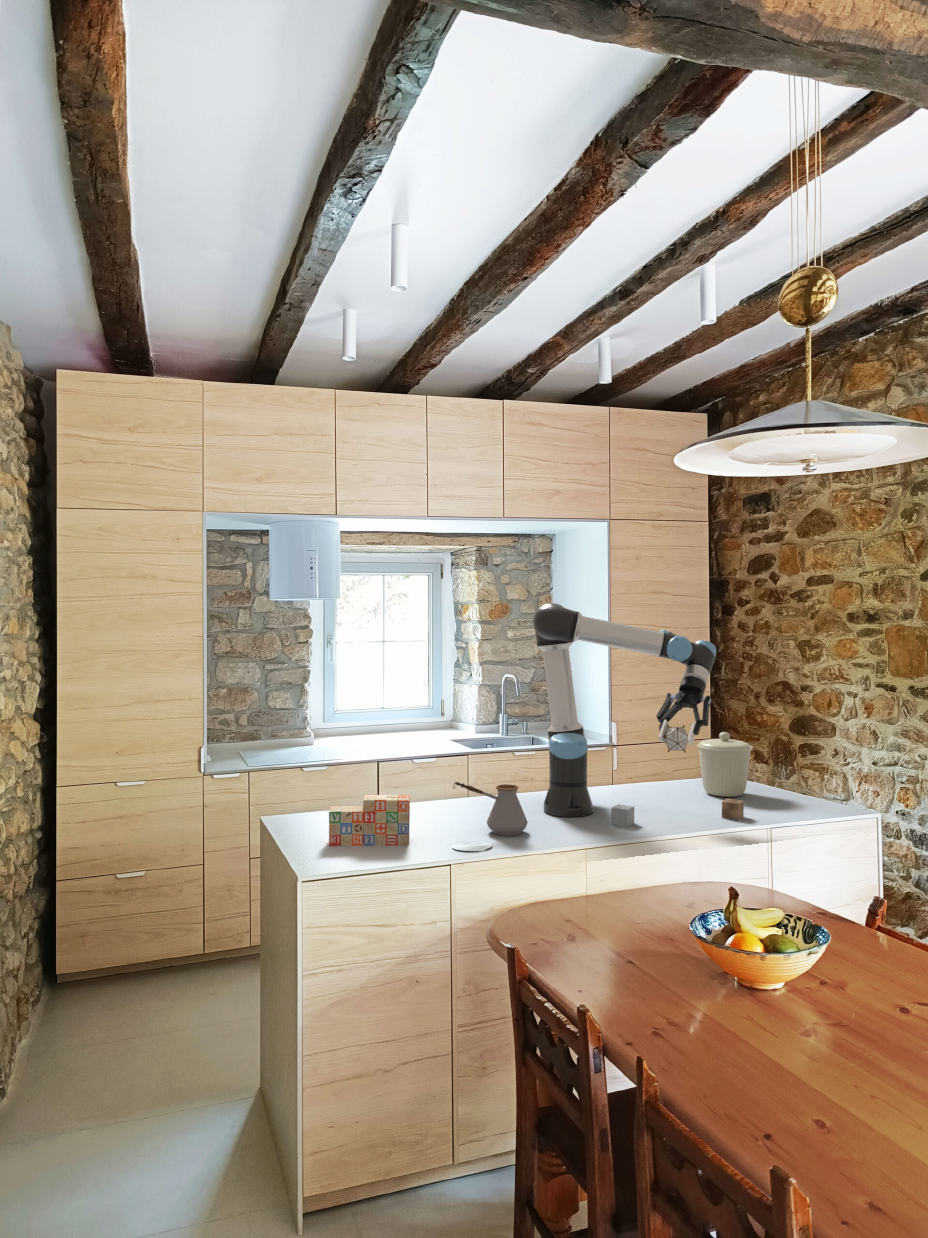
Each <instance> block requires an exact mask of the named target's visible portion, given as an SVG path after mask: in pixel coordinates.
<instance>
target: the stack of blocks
mask: <svg viewBox="0 0 928 1238" xmlns="http://www.w3.org/2000/svg"><path fill="white" fill-rule="evenodd" d="M410 797H411V796H410V795H403V794H402V795H400V794H376V795H375V794H364V796H363V802H362V805H361V806H359V805H358V806H356V805H354V806H353V805H349V806H347V805H345V806H344V805H342V806H341V805H340V806H338V805H336V806H335V805H333V806H331V807H330V808H329V811H328V836H329V837H328V846H336V847H337V846H338V847H339V846H341V847H342V846H343V847H345V846H348V847H351V846H352V847H353V846H354V847H355V846H357V847H358V846H359V847H361V846H364V847H366V846H369V847H371V846H372V847H374V846H409V845H410V817H411V815H410V814H411V813H410V812H411V810H410V809H411V805H410V804H411V802H410V800H411V799H410Z"/></svg>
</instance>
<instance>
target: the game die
mask: <svg viewBox="0 0 928 1238" xmlns="http://www.w3.org/2000/svg"><path fill="white" fill-rule="evenodd" d="M667 727H668V729H667V732H666V735H665V736H663V737H664V741H663V743H665V745H666V747H667V749H668V750H667V753H670V751H683V752H684V753H686V752H687V751H686V750H685V749H686V747H687V745H688V744H689V742H688V740H687V739H688V736H689V733H688V732H687V731H686V729H685V727H686V726H685V724H684V725H682V726H670V725H669V726H668V725H667Z"/></svg>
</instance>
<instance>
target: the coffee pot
mask: <svg viewBox="0 0 928 1238" xmlns="http://www.w3.org/2000/svg"><path fill="white" fill-rule="evenodd" d="M457 786H458V787H459V786H460V788H462V789H466V790H468V791H470V792H473V793H476V794H480V795H484V796H486V797H488V798H491V799H493V800H494V803H493V805H492V808H491V811H490V812H489V816H488V818H487V820H486V825H487V827H488V829H489V830H491V831H492V832H493V833H494V835H497V836H504V837H505V836H506V837H510V836H511V837H512V836H517V835H520V834H521V833H522V832H523V831H524V830H525V829H526V828H527V826H528V824H529V822H528V820H527V817H526V814H525V812H524V809H523V807H522V805H521V802H520V800H519V798H518V794H517V792H518V789H519V786H518V785H515V784H507V783H506V784H504V783H503V784H498V785H496V786H495V789H496V790H497V795H494V794H491V793H488V792H485V791H483V790H481V789H479V788H476V787H474V786H472V785H467V784H465V783H461V782H459V781H455V782H454V783H453V785H452V788H453V790H455V789H456V787H457Z"/></svg>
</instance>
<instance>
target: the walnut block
mask: <svg viewBox="0 0 928 1238" xmlns="http://www.w3.org/2000/svg"><path fill="white" fill-rule="evenodd" d="M744 804H745V803H744V800H740V799H734V798H725V799H723V800H722V801H721V818H722V817H723V818H722V819H726V818H730V819H729V820H733V819H736V820H735V821H740V820H742V817H743V818H744V817H745V816H744V814H745V813H744V808H745V807H744V806H745V805H744ZM724 817H725V818H724ZM739 819H740V820H739Z"/></svg>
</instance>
